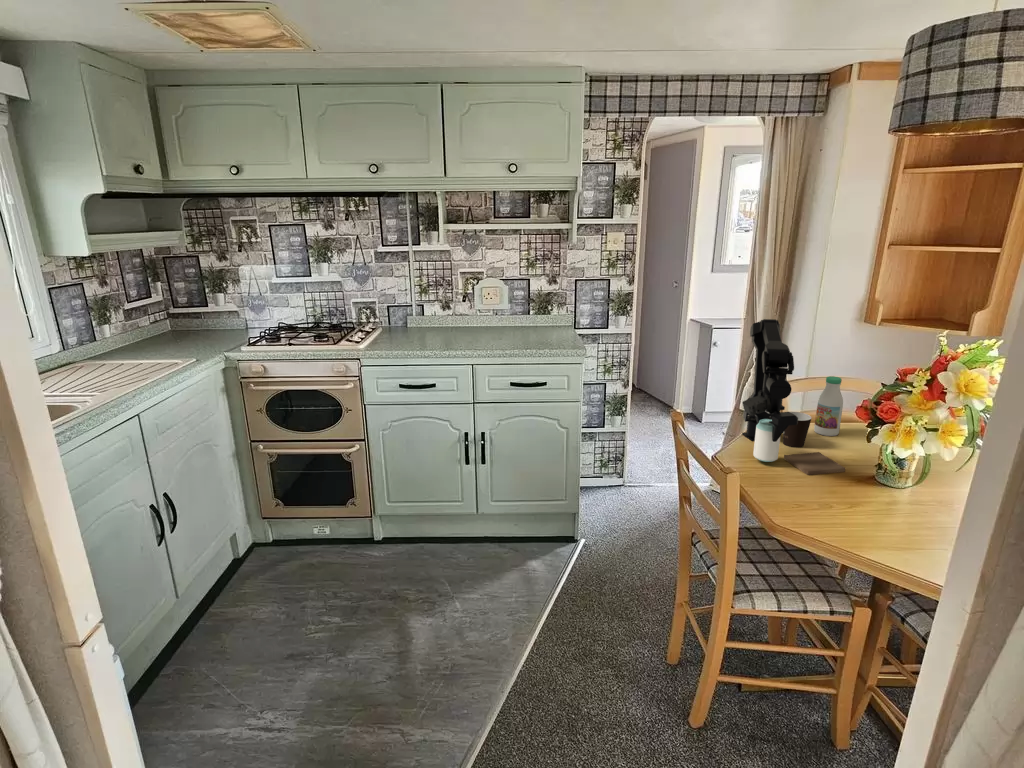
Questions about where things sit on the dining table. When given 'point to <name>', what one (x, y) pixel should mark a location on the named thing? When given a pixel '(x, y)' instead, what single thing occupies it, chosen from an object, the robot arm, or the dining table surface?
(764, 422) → the can
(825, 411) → the milk bottle
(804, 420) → the coffee mug
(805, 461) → the base board
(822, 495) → the dining table surface
